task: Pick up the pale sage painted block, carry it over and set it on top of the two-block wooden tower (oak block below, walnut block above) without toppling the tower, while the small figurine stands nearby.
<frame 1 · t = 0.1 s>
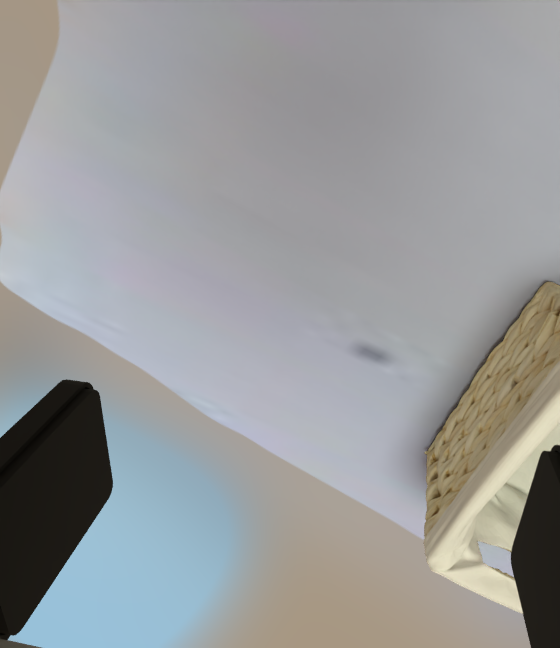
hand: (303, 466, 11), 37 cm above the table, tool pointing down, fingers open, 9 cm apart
storage basket: (548, 399, 50), on the table
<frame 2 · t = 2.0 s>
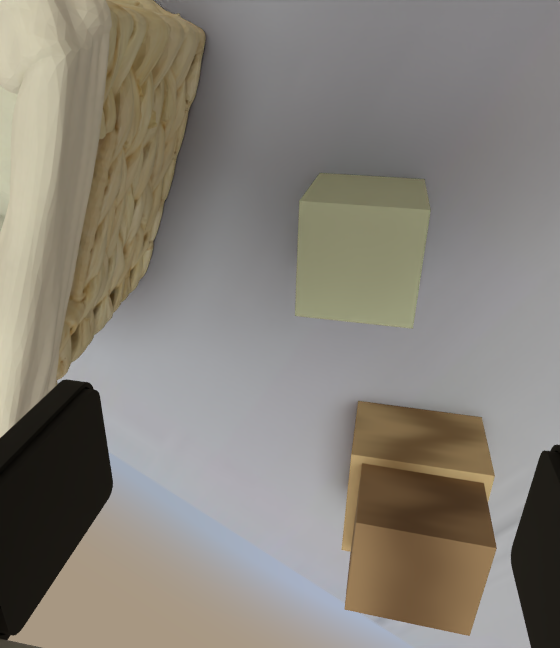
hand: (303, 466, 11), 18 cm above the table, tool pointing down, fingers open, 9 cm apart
sage block: (366, 226, 26), on the table
oak block: (410, 454, 32), on the table, touching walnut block
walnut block: (413, 516, 28), point 5 cm above the table, touching oak block
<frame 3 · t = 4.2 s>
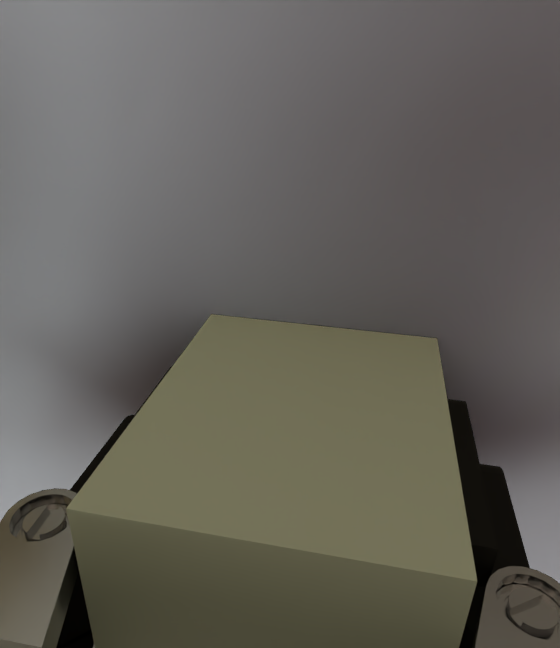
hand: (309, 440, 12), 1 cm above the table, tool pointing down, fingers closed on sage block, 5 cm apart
sage block: (314, 418, 13), on the table, touching gripper
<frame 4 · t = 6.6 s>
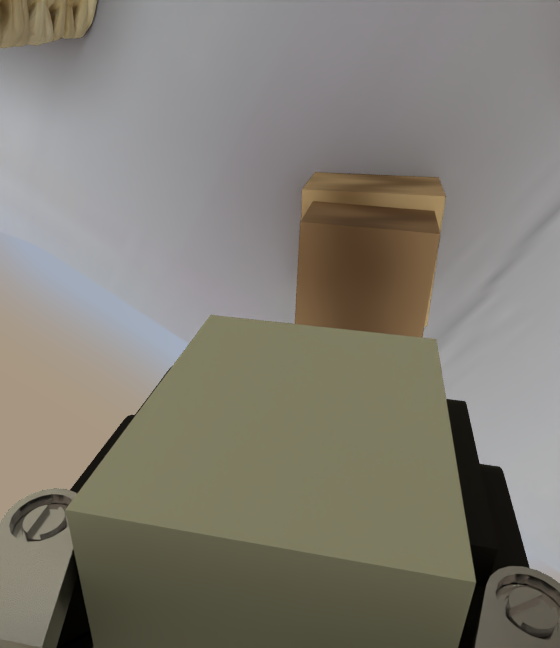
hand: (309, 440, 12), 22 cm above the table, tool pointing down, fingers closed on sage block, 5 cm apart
sage block: (313, 419, 13), point 21 cm above the table, touching gripper
oak block: (370, 233, 32), on the table, touching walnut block
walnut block: (366, 262, 27), point 5 cm above the table, touching oak block
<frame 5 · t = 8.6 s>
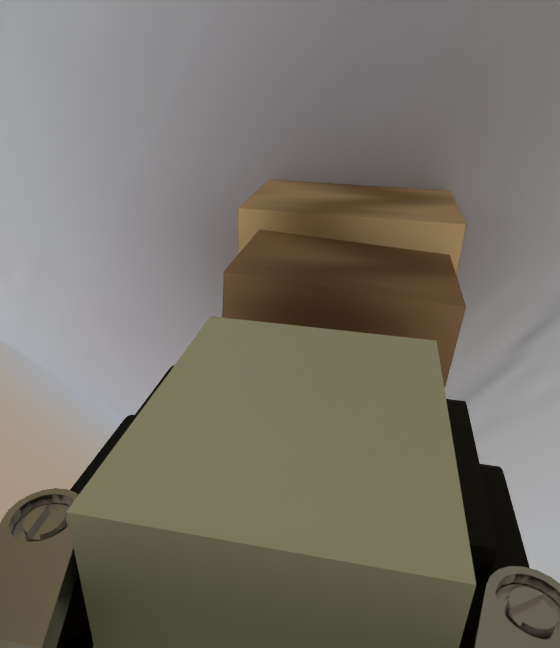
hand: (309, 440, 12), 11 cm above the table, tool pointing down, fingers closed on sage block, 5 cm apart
sage block: (313, 420, 13), point 11 cm above the table, touching gripper
oak block: (350, 268, 22), on the table, touching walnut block
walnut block: (339, 326, 18), point 5 cm above the table, touching oak block
when the fingers open (11 cm above the table, at t = 9.2 s): sage block stays where it is, resting on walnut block.
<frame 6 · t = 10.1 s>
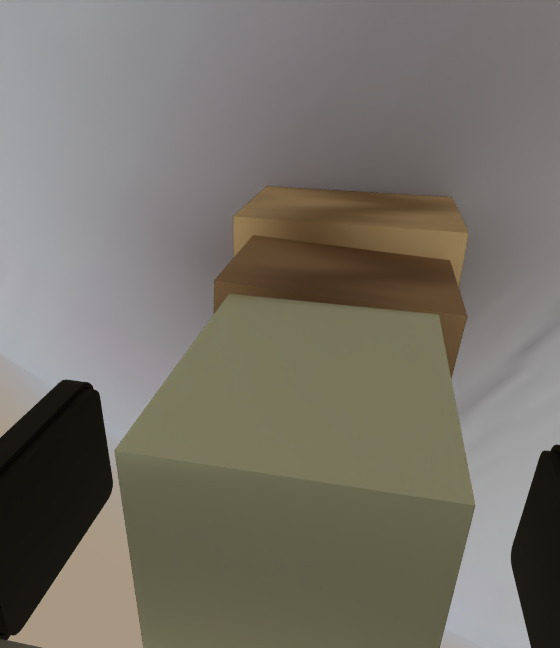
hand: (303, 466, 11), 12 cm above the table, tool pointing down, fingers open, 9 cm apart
sage block: (324, 392, 14), point 9 cm above the table, touching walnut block
oak block: (349, 276, 22), on the table, touching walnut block
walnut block: (337, 334, 17), point 5 cm above the table, touching oak block, sage block
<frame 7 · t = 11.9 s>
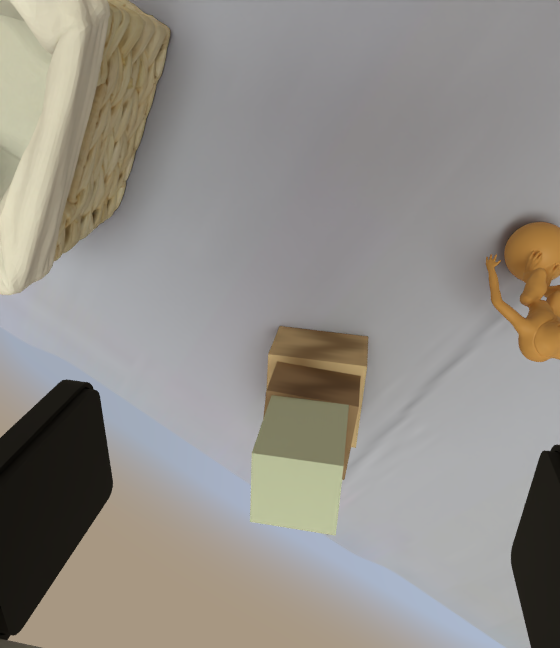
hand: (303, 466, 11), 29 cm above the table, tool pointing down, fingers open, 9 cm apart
figurine: (518, 255, 37), on the table
sage block: (307, 431, 35), point 9 cm above the table
oak block: (319, 369, 43), on the table, touching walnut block
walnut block: (313, 403, 38), point 5 cm above the table, touching oak block
storage basket: (12, 66, 37), on the table
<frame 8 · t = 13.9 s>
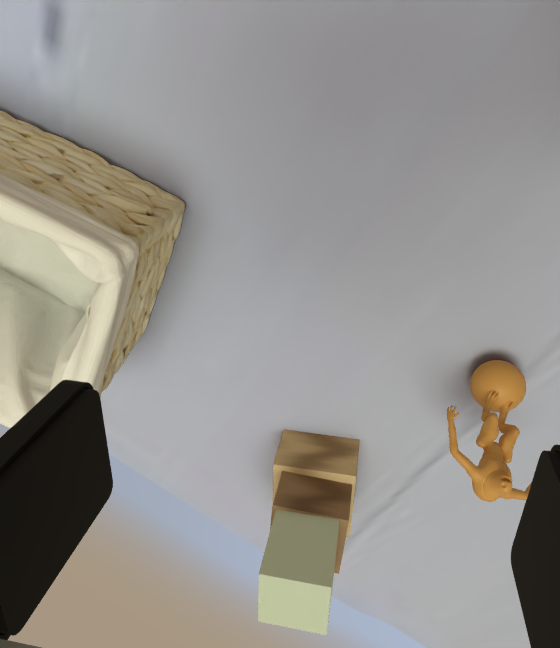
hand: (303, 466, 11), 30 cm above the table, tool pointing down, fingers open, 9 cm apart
figurine: (484, 380, 43), on the table
sage block: (305, 537, 42), point 9 cm above the table
oak block: (319, 463, 50), on the table, touching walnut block
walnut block: (313, 503, 46), point 5 cm above the table, touching oak block
storage basket: (54, 222, 44), on the table
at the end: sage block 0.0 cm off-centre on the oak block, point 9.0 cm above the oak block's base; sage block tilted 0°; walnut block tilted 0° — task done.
